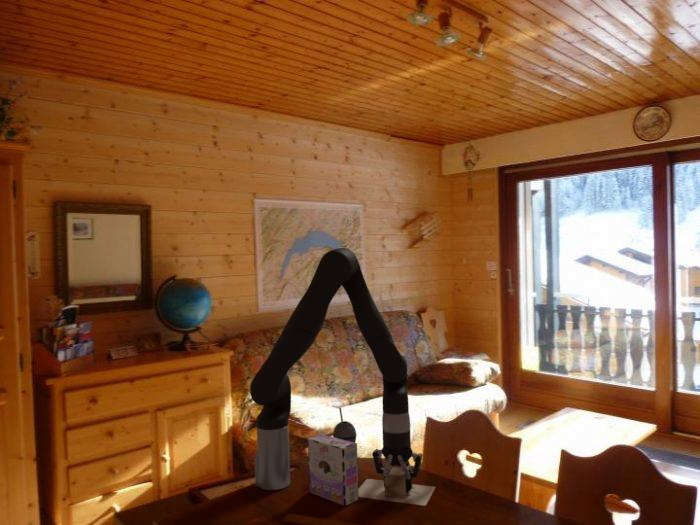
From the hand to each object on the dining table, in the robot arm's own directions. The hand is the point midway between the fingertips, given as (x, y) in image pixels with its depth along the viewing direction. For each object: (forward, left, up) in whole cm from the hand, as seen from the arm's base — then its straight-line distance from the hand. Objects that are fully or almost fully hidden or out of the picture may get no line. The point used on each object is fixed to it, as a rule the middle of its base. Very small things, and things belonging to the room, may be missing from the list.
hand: (398, 490), depth 149 cm
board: (-1, 0, -2) cm, 2 cm away
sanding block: (0, 0, -1) cm, 1 cm away
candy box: (-16, -7, -2) cm, 18 cm away
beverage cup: (-20, +12, -2) cm, 24 cm away
